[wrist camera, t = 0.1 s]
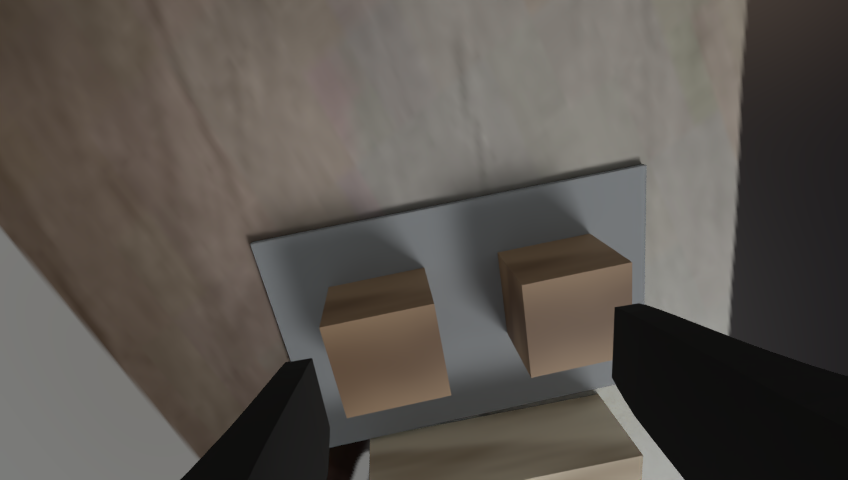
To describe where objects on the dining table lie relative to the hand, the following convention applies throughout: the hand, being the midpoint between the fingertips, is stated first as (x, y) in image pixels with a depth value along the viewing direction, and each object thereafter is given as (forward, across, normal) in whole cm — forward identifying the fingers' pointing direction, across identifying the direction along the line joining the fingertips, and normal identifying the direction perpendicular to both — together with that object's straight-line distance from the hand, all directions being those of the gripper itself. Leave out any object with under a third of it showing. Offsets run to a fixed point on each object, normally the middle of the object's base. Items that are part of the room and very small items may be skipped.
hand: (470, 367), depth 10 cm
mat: (+10, -2, +5) cm, 11 cm away
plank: (+10, -2, +13) cm, 17 cm away
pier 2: (+10, -6, +4) cm, 12 cm away
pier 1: (+10, +2, +4) cm, 11 cm away
